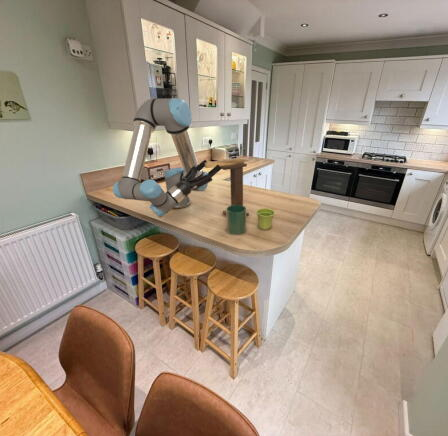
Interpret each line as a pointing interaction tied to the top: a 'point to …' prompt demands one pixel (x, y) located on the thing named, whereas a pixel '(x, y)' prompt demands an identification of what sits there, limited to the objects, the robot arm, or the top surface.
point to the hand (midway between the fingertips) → (212, 164)
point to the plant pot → (265, 218)
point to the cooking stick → (224, 162)
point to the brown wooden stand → (236, 183)
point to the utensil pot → (236, 219)
